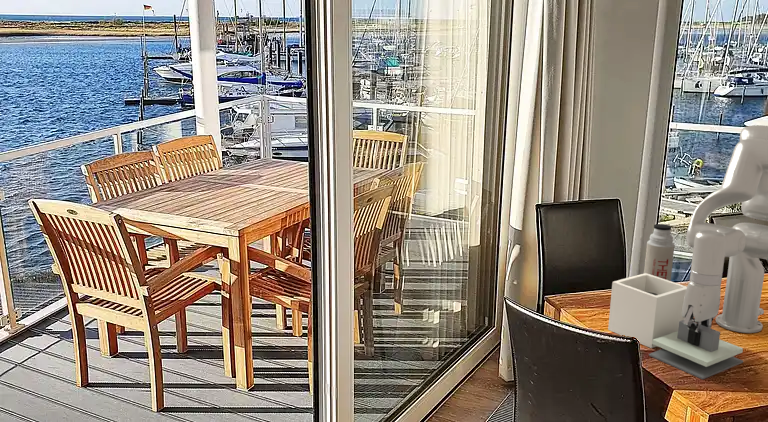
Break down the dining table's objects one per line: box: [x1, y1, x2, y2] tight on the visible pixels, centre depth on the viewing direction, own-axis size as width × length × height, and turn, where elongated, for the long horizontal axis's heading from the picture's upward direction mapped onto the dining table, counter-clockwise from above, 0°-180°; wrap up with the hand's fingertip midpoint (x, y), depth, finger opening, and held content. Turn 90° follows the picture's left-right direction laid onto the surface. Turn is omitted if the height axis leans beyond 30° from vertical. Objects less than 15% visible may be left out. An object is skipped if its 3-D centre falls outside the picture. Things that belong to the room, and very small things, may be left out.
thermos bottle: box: [643, 223, 676, 282], centre depth 215 cm, size 8×8×28 cm
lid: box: [652, 320, 744, 367], centre depth 183 cm, size 16×16×7 cm
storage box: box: [607, 272, 688, 349], centre depth 199 cm, size 15×15×15 cm
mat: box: [648, 348, 744, 380], centre depth 185 cm, size 18×16×1 cm
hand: (697, 342), depth 184 cm, fingers closed on lid, 3 cm apart
